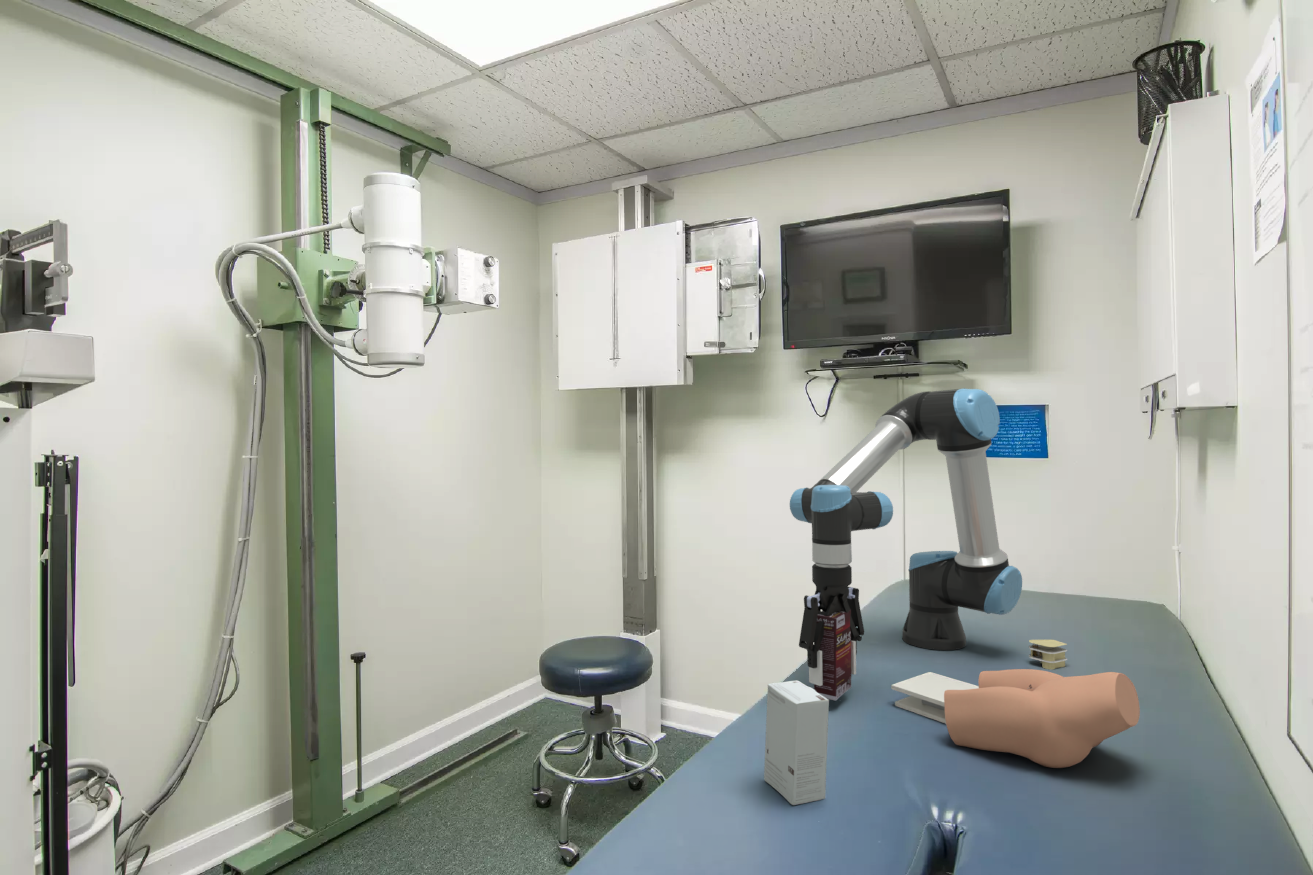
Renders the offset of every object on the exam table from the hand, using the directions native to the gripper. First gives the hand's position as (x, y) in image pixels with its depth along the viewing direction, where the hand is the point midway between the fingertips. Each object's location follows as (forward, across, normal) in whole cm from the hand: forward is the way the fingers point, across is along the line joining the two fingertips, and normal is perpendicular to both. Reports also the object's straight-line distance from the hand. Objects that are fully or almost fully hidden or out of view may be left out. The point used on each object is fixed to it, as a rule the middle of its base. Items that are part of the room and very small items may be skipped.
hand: (833, 677), depth 136 cm
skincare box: (+5, +31, +19) cm, 37 cm away
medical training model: (+5, -12, +34) cm, 37 cm away
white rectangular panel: (+5, -15, +14) cm, 21 cm away
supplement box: (+3, 0, 0) cm, 3 cm away
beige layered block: (+6, -58, +14) cm, 60 cm away
